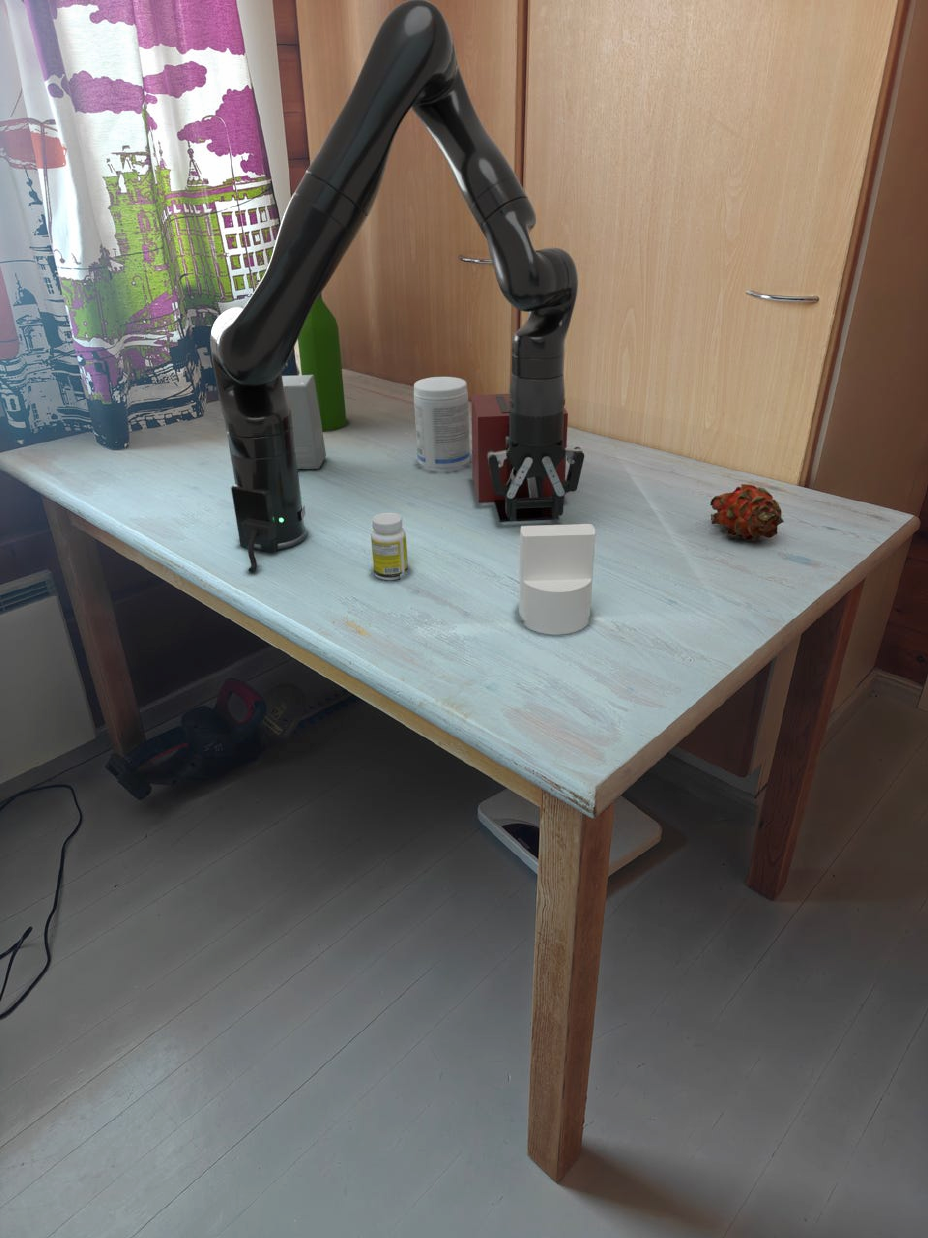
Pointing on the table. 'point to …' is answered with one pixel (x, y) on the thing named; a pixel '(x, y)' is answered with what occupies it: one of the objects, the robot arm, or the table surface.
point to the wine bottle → (323, 363)
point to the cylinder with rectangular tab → (556, 577)
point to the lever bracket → (523, 513)
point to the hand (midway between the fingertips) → (533, 518)
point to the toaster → (499, 446)
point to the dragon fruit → (747, 512)
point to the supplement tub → (442, 422)
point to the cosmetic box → (305, 420)
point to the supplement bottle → (389, 546)
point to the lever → (534, 497)
